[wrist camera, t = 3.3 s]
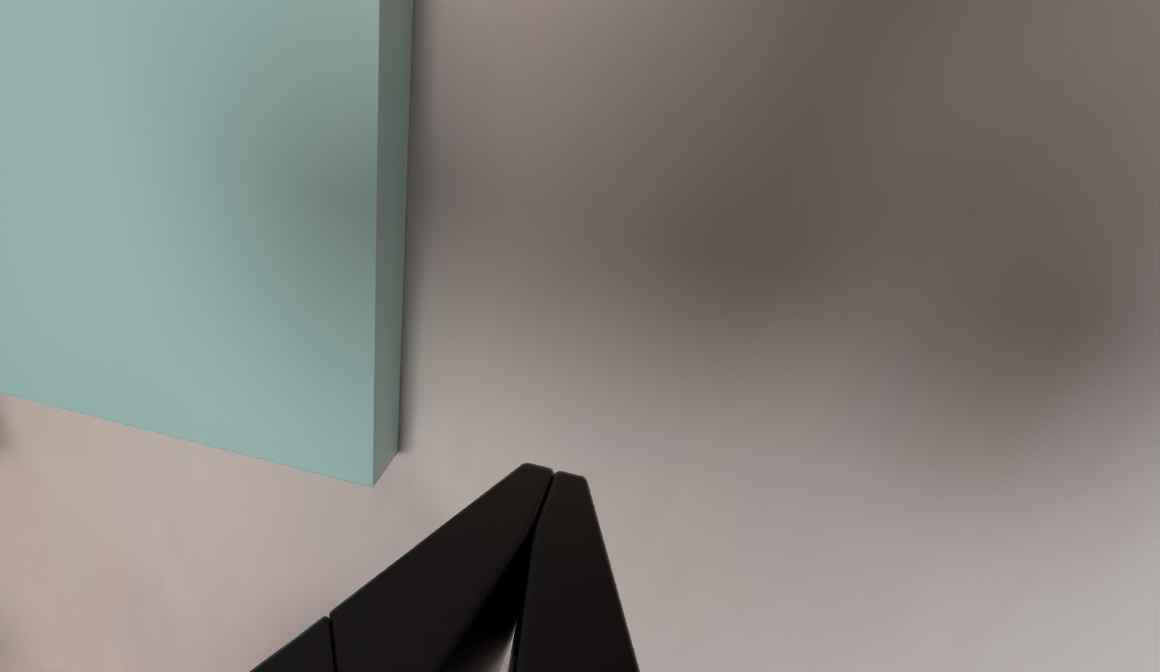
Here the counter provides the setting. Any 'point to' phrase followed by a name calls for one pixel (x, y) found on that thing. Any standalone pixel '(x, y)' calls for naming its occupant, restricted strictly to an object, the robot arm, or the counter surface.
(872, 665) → the counter surface
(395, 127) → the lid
